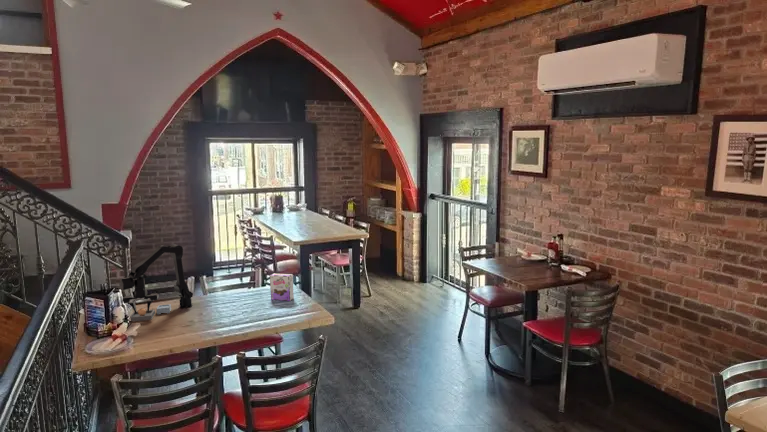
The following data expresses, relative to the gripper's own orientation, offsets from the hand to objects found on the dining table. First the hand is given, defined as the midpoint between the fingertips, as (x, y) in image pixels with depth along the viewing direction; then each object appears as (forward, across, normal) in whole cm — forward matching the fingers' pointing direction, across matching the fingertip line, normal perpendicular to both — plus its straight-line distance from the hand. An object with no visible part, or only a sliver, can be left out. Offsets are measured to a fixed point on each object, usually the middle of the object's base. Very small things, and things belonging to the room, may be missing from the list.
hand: (142, 312), depth 311 cm
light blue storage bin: (+3, -11, -7) cm, 13 cm away
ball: (0, 0, 0) cm, 0 cm away
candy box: (+4, -82, -9) cm, 83 cm away
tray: (+3, 0, 0) cm, 3 cm away
